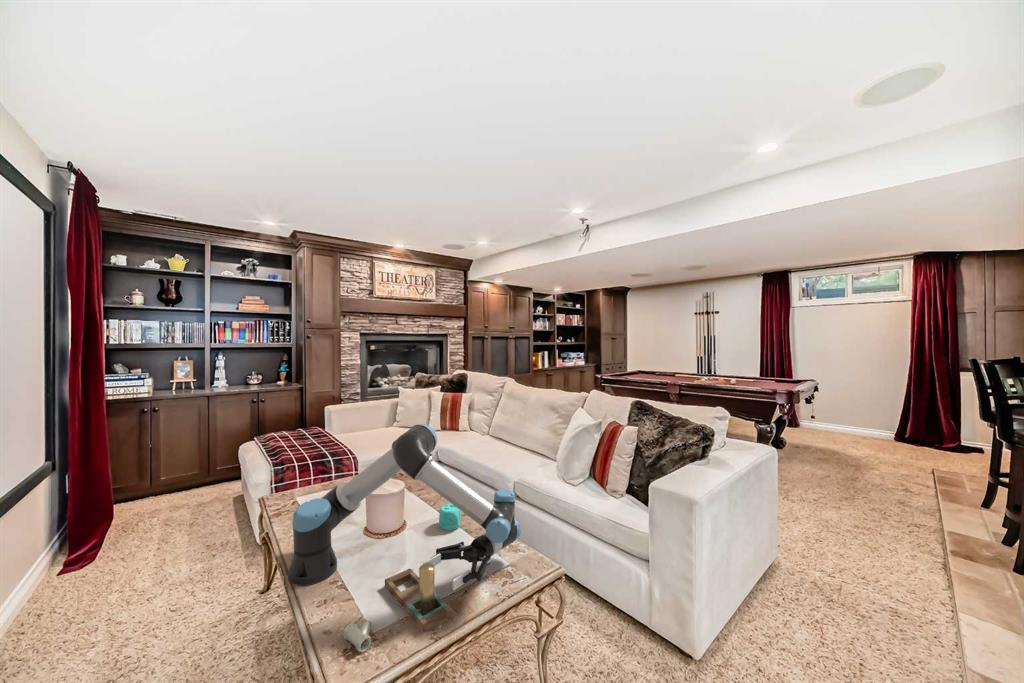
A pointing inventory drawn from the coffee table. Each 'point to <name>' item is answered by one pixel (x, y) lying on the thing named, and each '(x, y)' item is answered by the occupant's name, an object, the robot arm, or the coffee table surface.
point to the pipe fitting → (359, 635)
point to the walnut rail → (416, 601)
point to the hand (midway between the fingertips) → (438, 575)
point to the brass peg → (427, 588)
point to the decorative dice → (449, 517)
